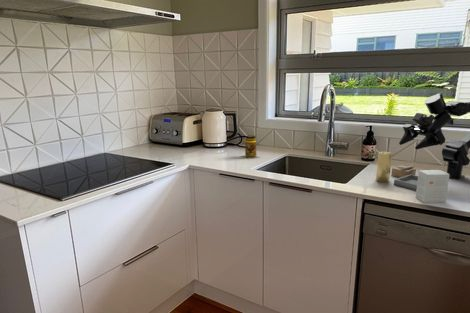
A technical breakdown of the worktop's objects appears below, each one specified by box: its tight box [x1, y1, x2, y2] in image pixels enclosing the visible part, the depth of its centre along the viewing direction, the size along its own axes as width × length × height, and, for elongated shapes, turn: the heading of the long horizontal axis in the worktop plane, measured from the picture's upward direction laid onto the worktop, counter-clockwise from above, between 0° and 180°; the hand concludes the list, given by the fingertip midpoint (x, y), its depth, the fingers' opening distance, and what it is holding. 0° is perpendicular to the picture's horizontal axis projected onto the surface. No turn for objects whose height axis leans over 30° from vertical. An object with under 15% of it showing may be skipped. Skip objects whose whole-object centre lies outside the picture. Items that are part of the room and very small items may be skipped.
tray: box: [393, 174, 418, 191], centre depth 136 cm, size 12×12×2 cm
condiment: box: [241, 134, 259, 160], centre depth 185 cm, size 7×8×12 cm
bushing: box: [375, 151, 393, 184], centre depth 141 cm, size 5×5×12 cm
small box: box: [415, 169, 450, 204], centre depth 119 cm, size 8×6×10 cm
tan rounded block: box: [390, 164, 417, 178], centre depth 148 cm, size 9×7×5 cm
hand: (407, 146), depth 138 cm, fingers open, 9 cm apart
